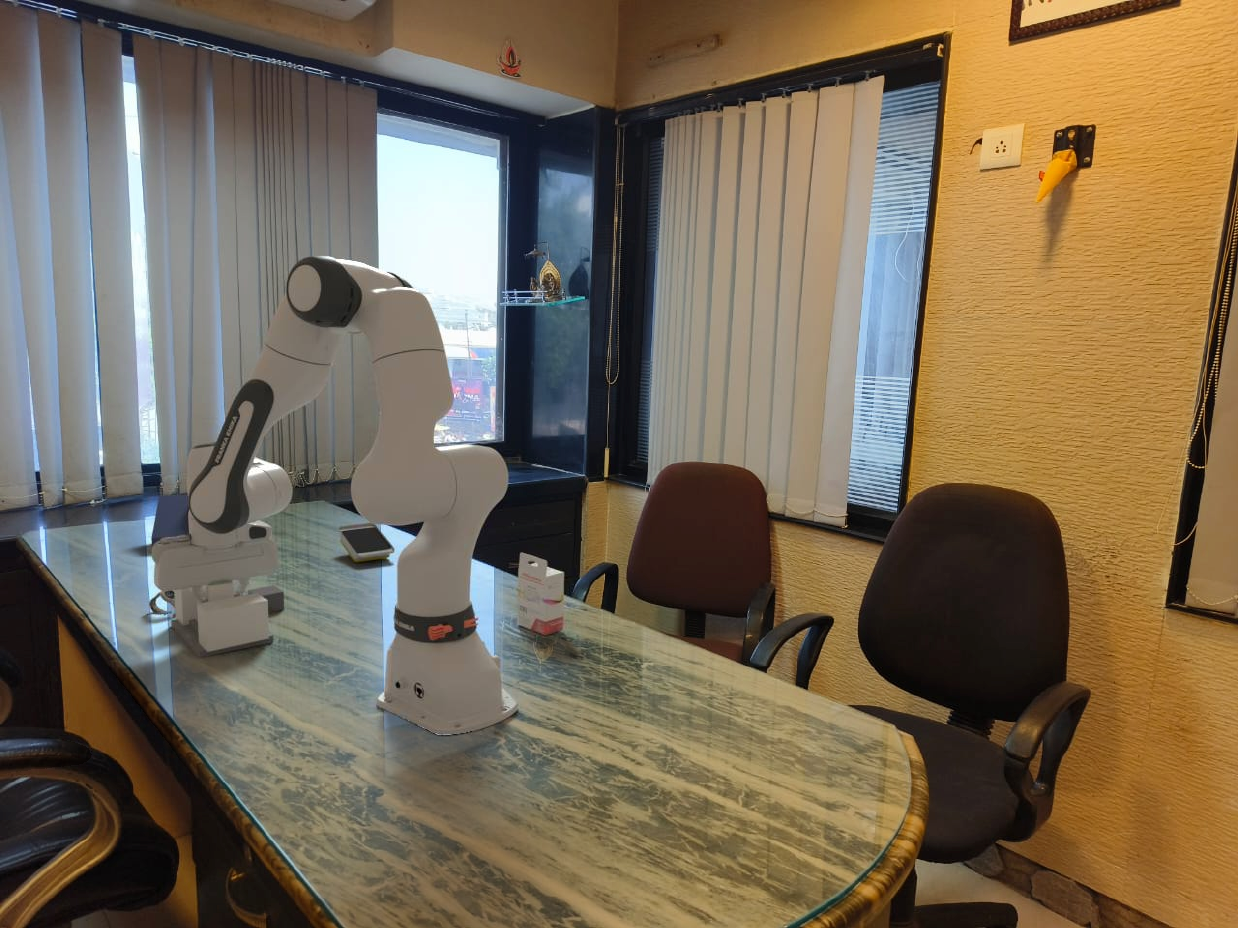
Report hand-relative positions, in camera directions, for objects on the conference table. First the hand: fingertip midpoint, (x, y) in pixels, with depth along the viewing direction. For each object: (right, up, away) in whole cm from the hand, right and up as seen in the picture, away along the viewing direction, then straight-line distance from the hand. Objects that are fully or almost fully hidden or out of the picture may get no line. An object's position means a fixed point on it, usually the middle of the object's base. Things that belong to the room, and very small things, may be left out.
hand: (220, 604), depth 143 cm
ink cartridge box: (+57, -7, +11) cm, 58 cm away
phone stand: (-37, +5, +56) cm, 67 cm away
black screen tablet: (+5, +8, +59) cm, 59 cm away
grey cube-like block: (+2, -4, +15) cm, 15 cm away
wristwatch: (-15, -4, +10) cm, 19 cm away
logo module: (0, -2, 0) cm, 2 cm away
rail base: (0, -6, +1) cm, 6 cm away
